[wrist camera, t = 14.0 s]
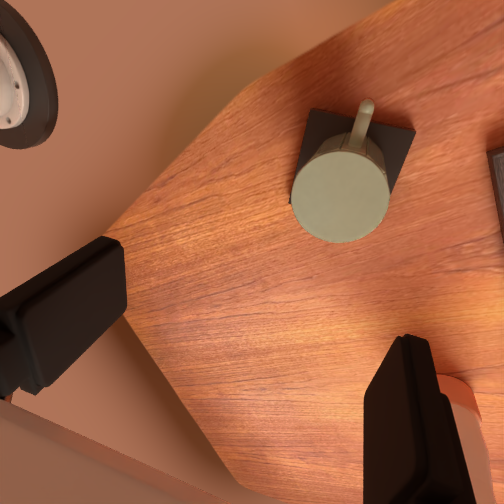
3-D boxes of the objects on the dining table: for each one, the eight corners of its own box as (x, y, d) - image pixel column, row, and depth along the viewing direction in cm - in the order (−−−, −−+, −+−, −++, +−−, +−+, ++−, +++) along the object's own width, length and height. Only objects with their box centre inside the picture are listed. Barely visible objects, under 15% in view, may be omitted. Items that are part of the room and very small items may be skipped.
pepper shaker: (489, 397, 37) (577, 639, 21) (442, 423, 41) (487, 643, 25) (434, 364, 37) (481, 578, 21) (393, 393, 41) (407, 592, 25)
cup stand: (290, 199, 34) (269, 231, 27) (312, 107, 29) (293, 118, 22) (376, 223, 32) (378, 263, 25) (414, 129, 27) (429, 147, 20)
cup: (301, 196, 32) (282, 228, 25) (328, 88, 27) (314, 92, 20) (369, 215, 30) (369, 254, 24) (412, 104, 25) (426, 115, 19)
